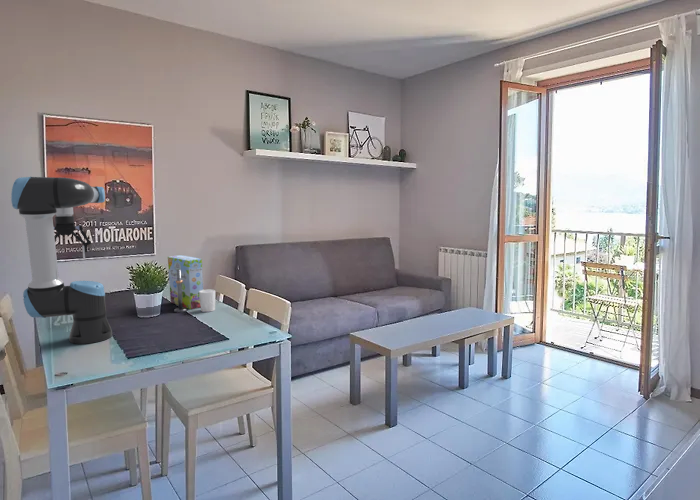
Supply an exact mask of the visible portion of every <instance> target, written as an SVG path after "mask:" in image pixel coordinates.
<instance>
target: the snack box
mask: <svg viewBox="0 0 700 500" xmlns="http://www.w3.org/2000/svg"><path fill="white" fill-rule="evenodd" d="M167 266H168V267H167V268H168V280H169V281H168V282H169V294H170V295H169V297H170V303H171V304H174V305H177V306H178V288H177V283H176V280H177V270H181V280H183V283H182V303H183V308H187V309H189V310H194V309H199V308H200V309H201V306H200V298H199V291H201V290H204V276H203V274H204V273H203V259H202V258H198V257H195V256H189V255H184V254H183V255H182V254H180V255H179V254H177V255H171V256H167Z"/></svg>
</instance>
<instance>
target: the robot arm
mask: <svg viewBox="0 0 700 500" xmlns="http://www.w3.org/2000/svg"><path fill="white" fill-rule="evenodd" d="M10 198H11V206H12V208H13V209H15V210H18V211H19V212H18V214H19V215H20V216H21V217H22V218H23V219H24V220H25V221H24V222H25V229H26V230H25V231H26V237H27V249H28V255H29V256H28V257H29V263H30V273H31V281H30V282H29V283H28V284H27V288H25V289H24V291H23V292H22V293H23V296H22V297H23V299H22V300H23V304H24V307H25V311H26V313H27V315H29V316H30V317H31V318H33V319H35V318H36V319H37V318H41V319H42V318H43V319H47V318H51V317H62V316H63V317H64V316H72V326H71V328H70V331H69V336H68V338H69V342H70V343H72V344H75V345H76V344H78V345H80V344H81V345H82V344H83V345H84V344H85V345H86V344H93V343H98V342H102V341H106V340H108V339H110V338H112V337H113V330H112V327H111V325H110V323H109V321H108V318H107V308H106V293H105V288H104V287H105V286H104V284H103V283H101V282H98V281H93V280H75V281H71V282H70V284H69V285H65V282H64V280H63V279H61V278H60V277H59V265H58V258H57V249H56V239H57V238H58V237H60V236H71V235H72V236H73V237H74V238H76V239H77V240H78V241H79V242H80V243H81V244H82V247H81V248H82V259H83V260H86V254H85V253H88V246H89V245H91V244H92V242H91V241H90V239H89V238H88V235H87V234H86V233H85V232H84V230H83V226H82V225H81V224H80V225H75V217H74V208H76V207H82V206H86V205H88V204H102V203H105V202H106V193H105V189H104V187H103V186H96V185H95V186H92V185H90V184H89V183H87V182H85V181H83V180H79V179H74V178H71V177H60V176H58V177H51V176H50V177H49V176H47V177H46V176H45V177H43V176H42V177H41V176H26V177H22V176H21V177H18V178H16V179H15V180H14V181H13V183H12V188H11V197H10ZM54 216H55V218H54ZM53 218H54V220H55V226H54V221H53ZM75 230H78V231H80V233H81V234H82V236H83V238H84V239H85V241H84V240H83V239H82V238H81V237H80V236H79V235H78V234H76V233H75ZM55 231H56V234H55Z"/></svg>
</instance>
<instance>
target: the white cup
mask: <svg viewBox="0 0 700 500" xmlns="http://www.w3.org/2000/svg"><path fill="white" fill-rule="evenodd" d="M199 298H200V306H201V307H200V311H201V312H203V313H209V312H214V311H216V290H215V289H203V290H201V291H199Z"/></svg>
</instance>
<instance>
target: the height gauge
mask: <svg viewBox="0 0 700 500" xmlns="http://www.w3.org/2000/svg"><path fill="white" fill-rule="evenodd" d="M176 283H177V288H178V305H177V306H178V308H177V307H176V308H174V313H177V312H178V313H185V312H188V308H186V307H183V303H182V283H183V280H181V270H177V280H176Z"/></svg>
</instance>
